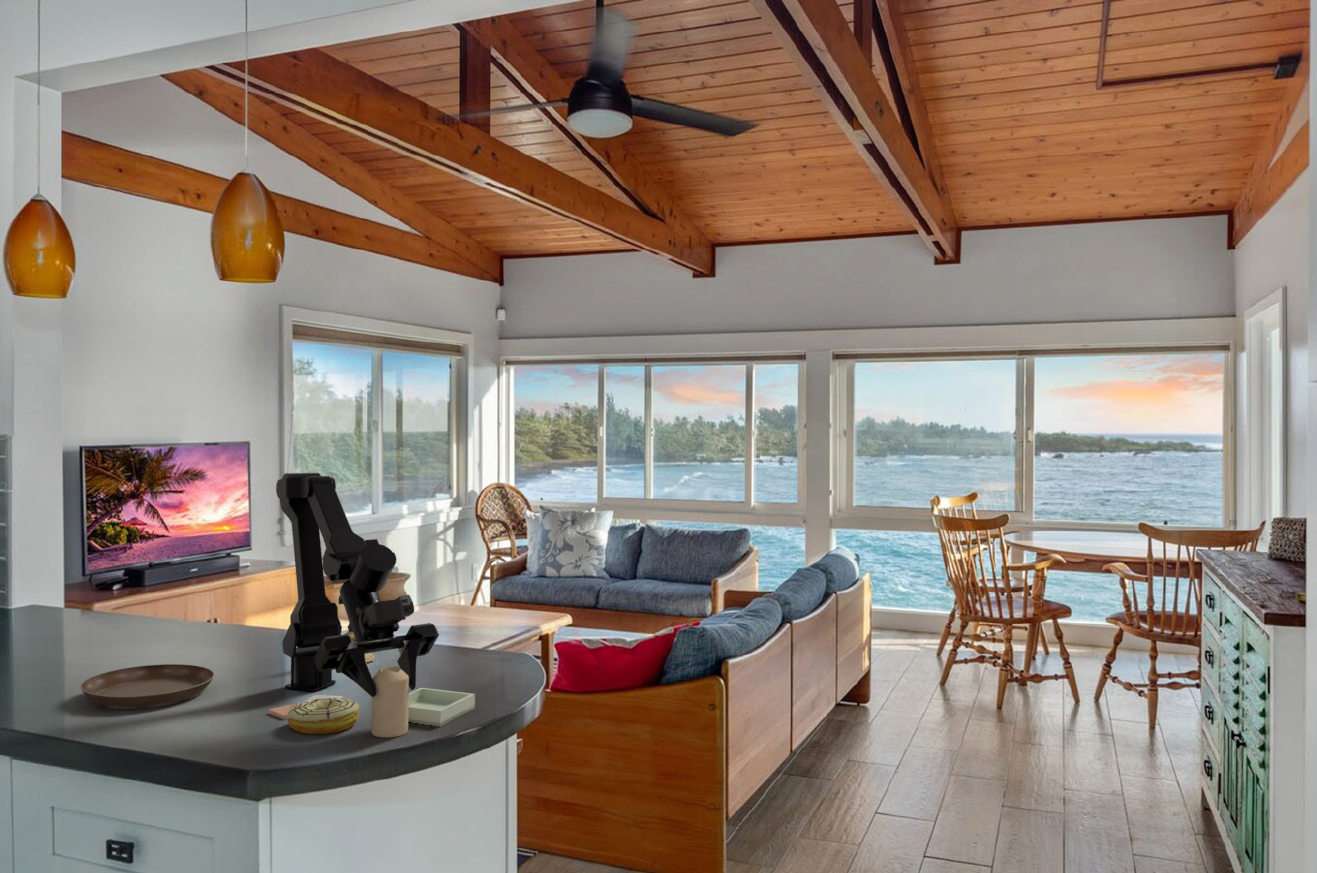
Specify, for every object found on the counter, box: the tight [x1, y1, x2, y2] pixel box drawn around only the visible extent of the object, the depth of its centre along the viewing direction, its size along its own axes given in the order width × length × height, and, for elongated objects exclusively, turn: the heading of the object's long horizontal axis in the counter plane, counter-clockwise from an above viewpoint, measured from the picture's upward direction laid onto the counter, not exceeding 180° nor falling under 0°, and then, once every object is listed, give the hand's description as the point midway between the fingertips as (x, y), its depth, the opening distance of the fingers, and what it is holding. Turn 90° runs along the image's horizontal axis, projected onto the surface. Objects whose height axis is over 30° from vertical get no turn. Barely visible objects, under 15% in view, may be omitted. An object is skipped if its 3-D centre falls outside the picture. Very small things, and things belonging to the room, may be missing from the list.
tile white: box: [301, 694, 343, 703], centre depth 163 cm, size 5×5×1 cm
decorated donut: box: [286, 697, 360, 735], centre depth 151 cm, size 10×11×4 cm
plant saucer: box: [80, 663, 215, 710], centre depth 167 cm, size 21×21×3 cm
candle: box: [371, 665, 410, 739], centre depth 148 cm, size 6×6×10 cm
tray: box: [408, 687, 476, 728], centre depth 158 cm, size 11×11×2 cm
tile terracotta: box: [268, 702, 300, 721], centre depth 157 cm, size 5×5×1 cm
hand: (394, 692), depth 147 cm, fingers open, 6 cm apart
